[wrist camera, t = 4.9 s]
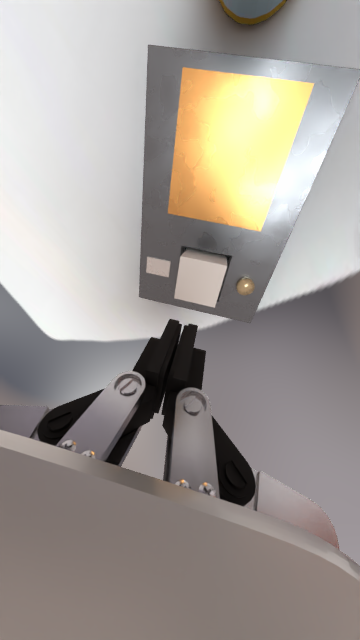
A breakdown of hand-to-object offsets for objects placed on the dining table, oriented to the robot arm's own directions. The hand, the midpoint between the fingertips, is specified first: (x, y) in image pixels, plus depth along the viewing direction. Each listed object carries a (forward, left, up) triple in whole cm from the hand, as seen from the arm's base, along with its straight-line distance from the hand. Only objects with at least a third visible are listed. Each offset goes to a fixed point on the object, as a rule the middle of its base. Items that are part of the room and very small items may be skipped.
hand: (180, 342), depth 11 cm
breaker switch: (0, 0, -16) cm, 16 cm away
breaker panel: (0, -6, -17) cm, 18 cm away
